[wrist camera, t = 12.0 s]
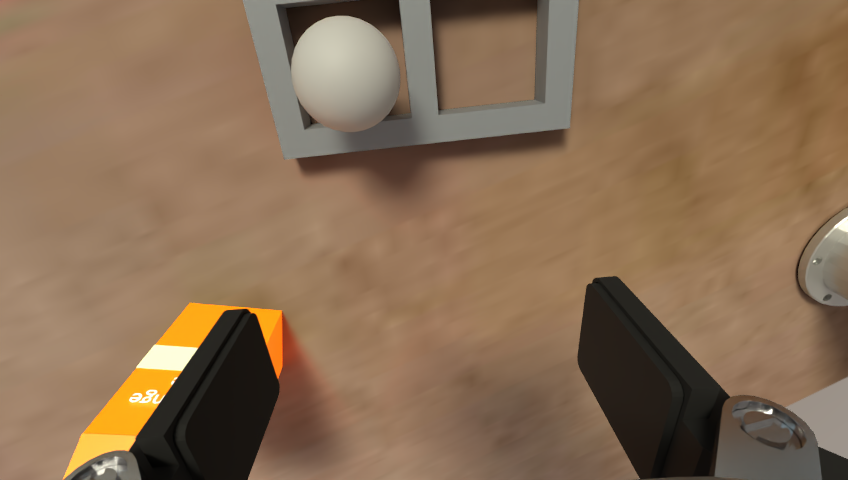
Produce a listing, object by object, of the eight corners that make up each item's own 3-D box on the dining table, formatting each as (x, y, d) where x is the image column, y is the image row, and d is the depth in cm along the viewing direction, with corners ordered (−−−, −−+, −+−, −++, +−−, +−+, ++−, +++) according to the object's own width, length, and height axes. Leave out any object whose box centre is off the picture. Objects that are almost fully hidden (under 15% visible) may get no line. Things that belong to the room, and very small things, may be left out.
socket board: (572, -133, 25) (592, -154, 22) (557, 122, 32) (571, 129, 29) (230, -98, 25) (210, -115, 22) (292, 151, 32) (282, 160, 29)
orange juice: (283, 367, 42) (197, 605, 24) (196, 362, 41) (40, 606, 23) (282, 308, 39) (182, 534, 21) (188, 301, 38) (-3, 531, 20)
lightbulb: (399, 30, 28) (408, 20, 19) (392, 116, 31) (397, 147, 21) (314, 18, 28) (276, 1, 18) (314, 107, 30) (281, 135, 20)
